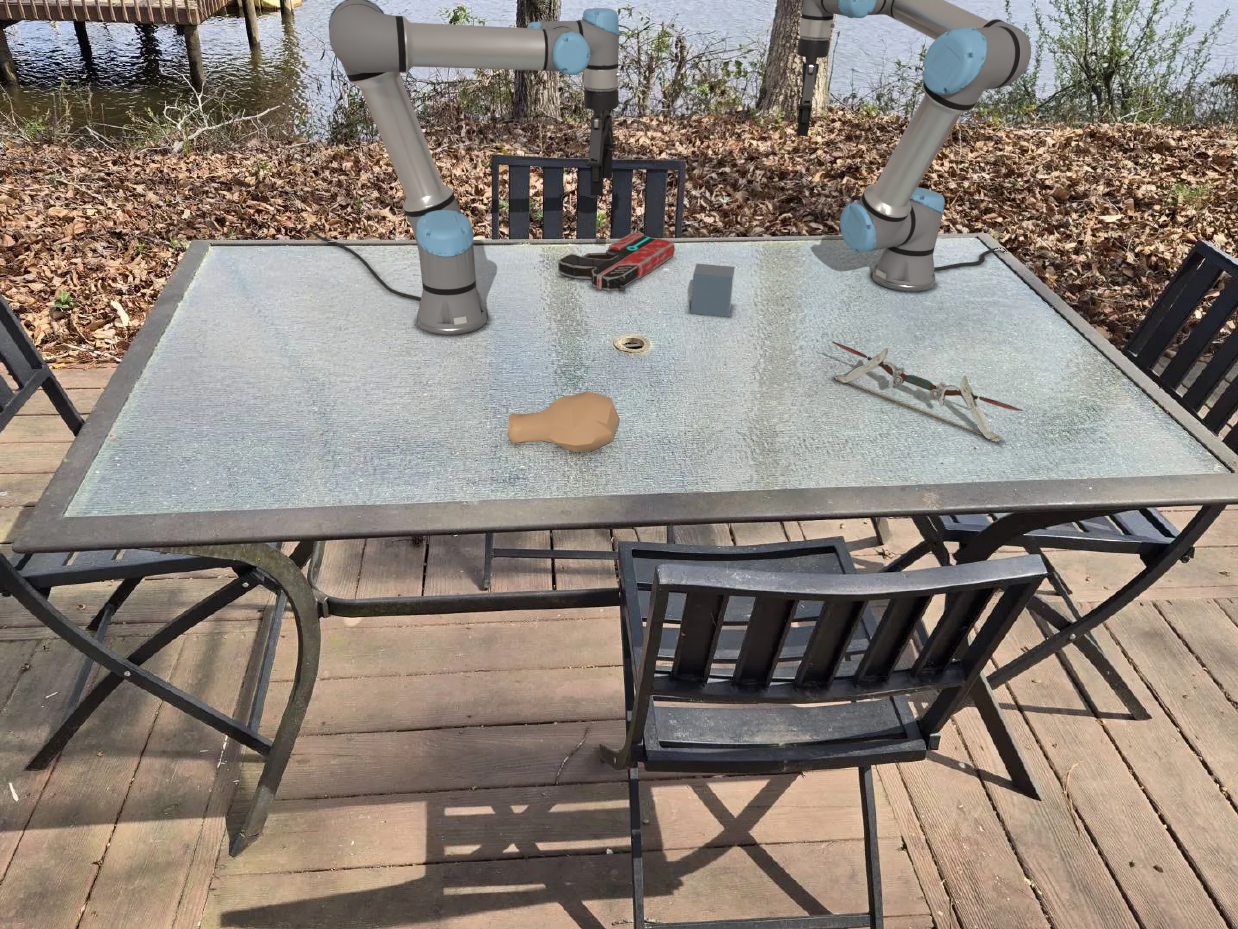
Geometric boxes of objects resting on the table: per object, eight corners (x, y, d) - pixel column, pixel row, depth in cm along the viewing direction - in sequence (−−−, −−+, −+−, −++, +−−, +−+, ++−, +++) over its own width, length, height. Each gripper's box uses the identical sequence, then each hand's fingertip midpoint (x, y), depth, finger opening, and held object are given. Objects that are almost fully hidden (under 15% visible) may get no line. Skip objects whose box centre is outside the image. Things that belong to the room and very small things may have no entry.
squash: (622, 459, 152) (616, 419, 146) (509, 467, 154) (498, 429, 148) (622, 418, 160) (617, 379, 154) (514, 426, 162) (505, 388, 155)
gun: (551, 260, 217) (618, 279, 209) (616, 225, 239) (679, 240, 231) (552, 278, 220) (618, 297, 212) (615, 241, 242) (677, 256, 234)
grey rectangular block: (728, 316, 203) (732, 277, 198) (690, 313, 204) (693, 273, 199) (730, 305, 208) (734, 266, 203) (693, 302, 210) (696, 263, 204)
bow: (1013, 444, 159) (1029, 396, 153) (1009, 448, 158) (1025, 400, 152) (828, 373, 180) (836, 328, 175) (824, 376, 179) (831, 331, 174)
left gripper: (609, 100, 180) (609, 203, 192) (626, 77, 201) (625, 171, 213) (573, 99, 181) (575, 201, 193) (594, 76, 202) (595, 170, 214)
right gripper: (831, 46, 201) (817, 142, 213) (829, 31, 222) (816, 119, 234) (798, 44, 202) (786, 140, 214) (799, 30, 223) (788, 117, 235)
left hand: (601, 186), depth 203 cm, fingers open, 13 cm apart
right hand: (802, 129), depth 224 cm, fingers open, 13 cm apart
